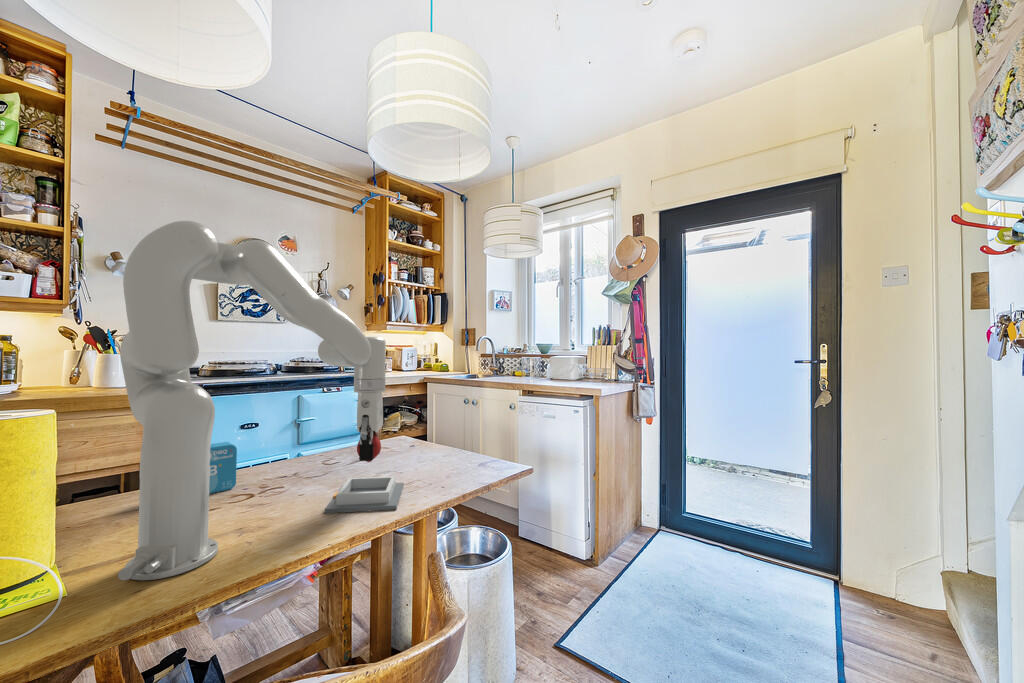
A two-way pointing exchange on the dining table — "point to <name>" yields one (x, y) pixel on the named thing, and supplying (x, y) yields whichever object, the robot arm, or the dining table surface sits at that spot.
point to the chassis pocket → (366, 495)
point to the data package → (222, 466)
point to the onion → (375, 447)
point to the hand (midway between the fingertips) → (368, 456)
